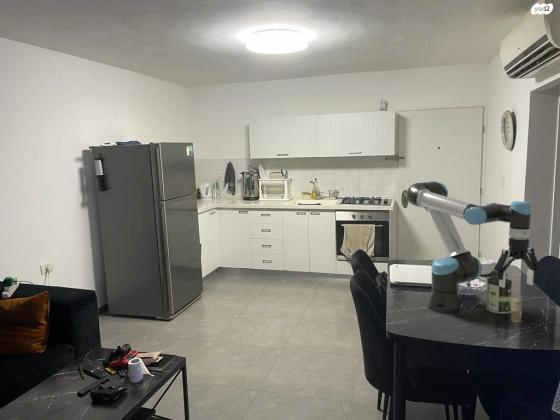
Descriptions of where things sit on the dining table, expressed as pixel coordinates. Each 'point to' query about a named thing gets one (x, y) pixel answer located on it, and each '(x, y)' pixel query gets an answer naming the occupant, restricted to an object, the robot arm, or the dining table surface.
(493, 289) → the coffee can
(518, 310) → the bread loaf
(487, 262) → the paper bowls
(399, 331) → the dining table surface
